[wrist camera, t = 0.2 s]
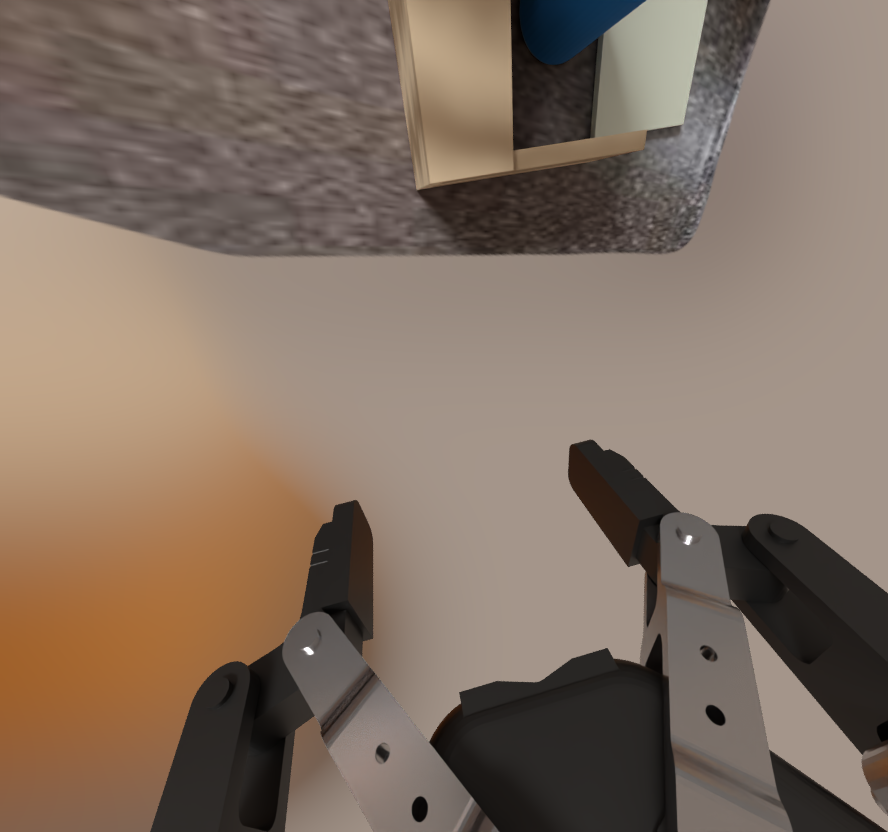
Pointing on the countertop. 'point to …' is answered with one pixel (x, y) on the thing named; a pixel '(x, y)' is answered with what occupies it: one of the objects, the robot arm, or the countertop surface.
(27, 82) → the countertop surface
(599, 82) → the tile
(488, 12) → the cubby
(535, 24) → the beverage can
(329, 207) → the countertop surface
